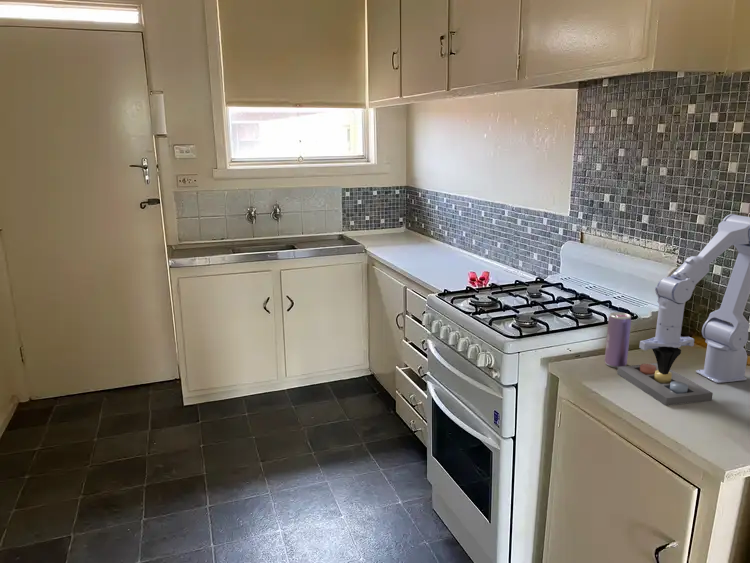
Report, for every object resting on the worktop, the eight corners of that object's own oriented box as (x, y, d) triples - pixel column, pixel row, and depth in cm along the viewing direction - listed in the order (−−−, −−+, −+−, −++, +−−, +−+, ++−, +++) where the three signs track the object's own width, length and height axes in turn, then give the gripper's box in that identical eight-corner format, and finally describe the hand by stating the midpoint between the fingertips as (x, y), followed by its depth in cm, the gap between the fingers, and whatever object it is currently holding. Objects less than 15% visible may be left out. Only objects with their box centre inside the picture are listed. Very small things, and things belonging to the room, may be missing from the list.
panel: (658, 369, 161) (659, 362, 161) (711, 400, 142) (712, 393, 142) (616, 373, 159) (617, 366, 158) (665, 405, 140) (666, 398, 139)
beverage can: (628, 369, 162) (633, 318, 158) (606, 367, 163) (611, 317, 159) (624, 361, 167) (629, 312, 164) (602, 359, 169) (607, 311, 165)
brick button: (649, 370, 158) (649, 363, 158) (658, 376, 154) (659, 368, 154) (636, 371, 158) (637, 364, 157) (645, 377, 154) (646, 369, 153)
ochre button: (664, 376, 152) (664, 369, 152) (674, 382, 149) (675, 375, 148) (650, 378, 152) (651, 370, 151) (660, 384, 148) (661, 376, 147)
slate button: (679, 388, 147) (680, 380, 146) (690, 395, 143) (691, 387, 142) (665, 390, 146) (666, 382, 146) (676, 396, 142) (677, 388, 142)
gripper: (654, 330, 141) (648, 381, 144) (705, 326, 144) (698, 376, 147) (636, 322, 148) (631, 370, 151) (685, 318, 150) (679, 366, 154)
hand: (663, 372), depth 150 cm, fingers closed, pressing on ochre button
